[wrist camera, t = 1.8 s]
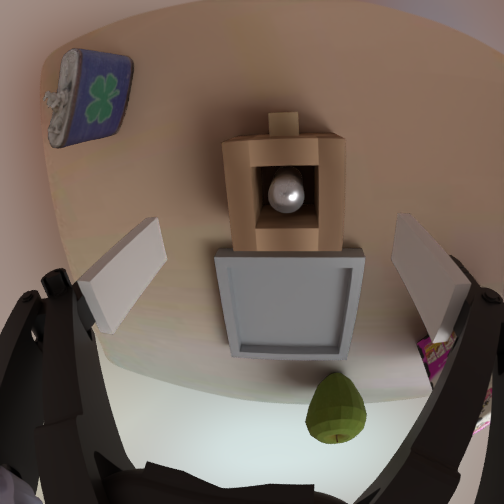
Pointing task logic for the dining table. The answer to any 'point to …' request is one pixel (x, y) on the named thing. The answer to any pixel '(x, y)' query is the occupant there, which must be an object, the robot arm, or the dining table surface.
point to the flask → (89, 97)
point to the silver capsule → (286, 190)
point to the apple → (336, 410)
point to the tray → (290, 302)
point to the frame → (265, 216)
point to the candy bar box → (434, 363)
